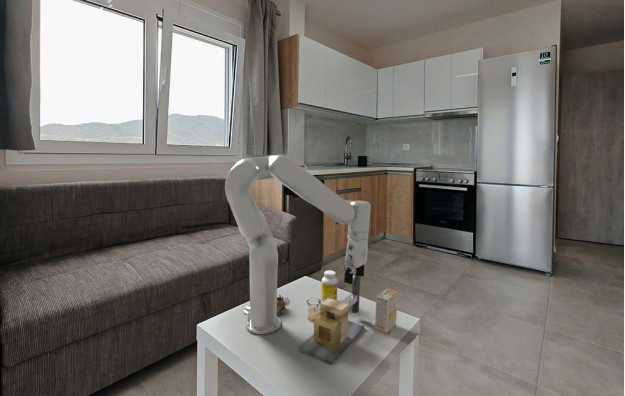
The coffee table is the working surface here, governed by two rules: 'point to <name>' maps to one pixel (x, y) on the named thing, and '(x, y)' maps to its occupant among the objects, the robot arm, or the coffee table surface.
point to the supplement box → (386, 310)
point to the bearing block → (346, 332)
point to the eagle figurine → (282, 304)
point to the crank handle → (353, 296)
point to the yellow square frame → (324, 339)
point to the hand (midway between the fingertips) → (354, 279)
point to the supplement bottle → (329, 286)
